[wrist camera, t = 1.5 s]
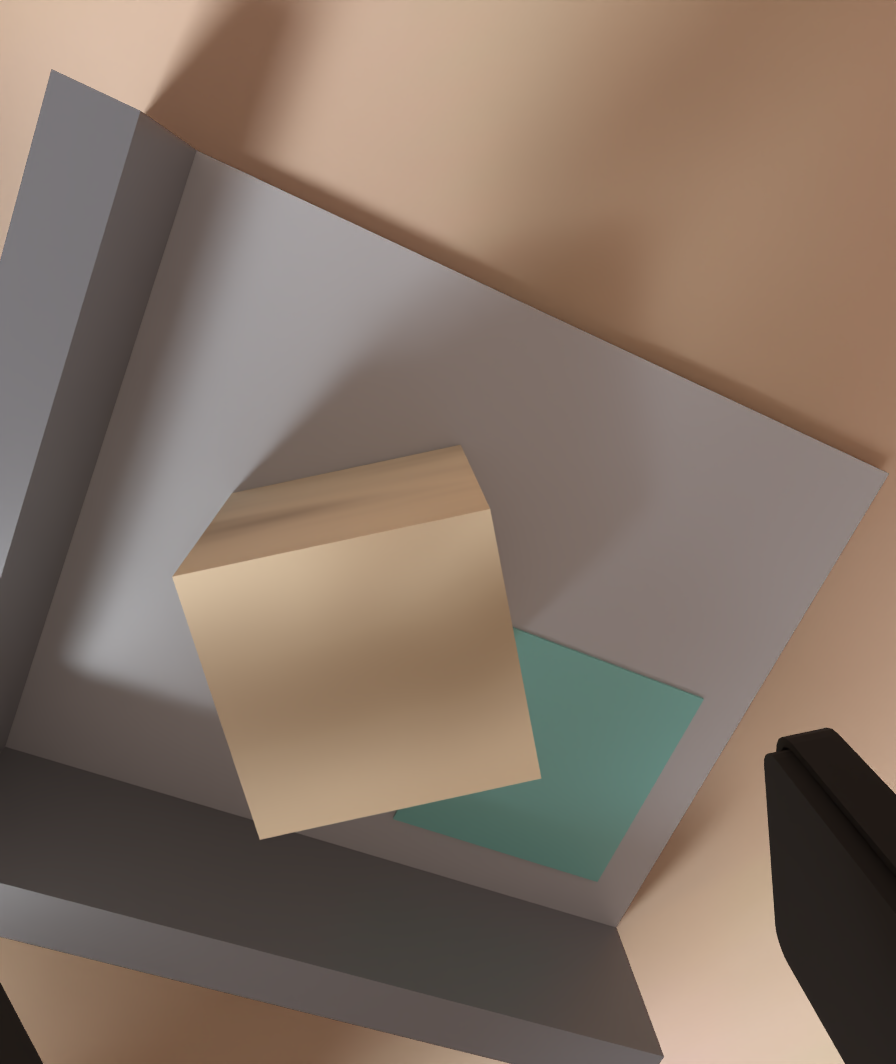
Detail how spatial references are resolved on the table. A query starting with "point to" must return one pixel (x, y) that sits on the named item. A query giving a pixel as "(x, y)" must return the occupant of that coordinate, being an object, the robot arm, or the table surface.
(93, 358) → the arena
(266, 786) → the birch block
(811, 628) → the table surface
